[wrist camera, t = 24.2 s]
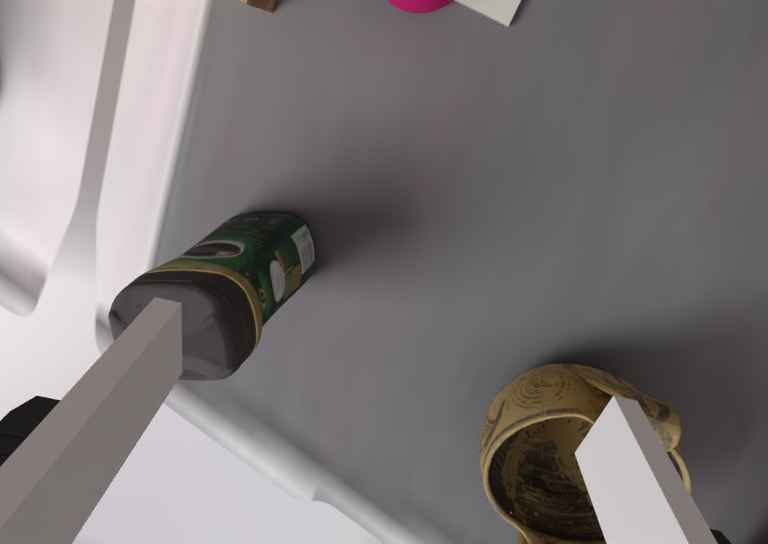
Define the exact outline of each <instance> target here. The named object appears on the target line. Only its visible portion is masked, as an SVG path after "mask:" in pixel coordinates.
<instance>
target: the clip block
mask: <svg viewBox="0 0 768 544" xmlns="http://www.w3.org/2000/svg"><path fill="white" fill-rule="evenodd" d="M239 1H241V2H243V3H245V4H248V5H251V6H254V7H257V8H260V9H263V10H266V11H269V12H272V13H273V10H274V6H275V3H276V0H239Z"/></svg>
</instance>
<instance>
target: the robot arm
mask: <svg viewBox="0 0 768 544" xmlns="http://www.w3.org/2000/svg"><path fill="white" fill-rule="evenodd" d="M181 374H182V303H180V302H175V301H171V300H166V299H161V298H157V297H155V298H154V299H153V300H152V301H151V302H150V303H149V304H148V305H147V306H146V307H145V309H144V310H143V311H142V312H141V313H140V314H139V315H138V316H137V317H136V318H135V320H134V321H133V322H132V323H131V324H130V325H129V326H128V327H127V328H126V329H125V330H124V332H123V333H122V334H121V335H120V336H119V337H118V338H117V339H116V340H115V341H114V343H113V344H112V345H111V346H110V347H109V348H108V349H107V350H106V351H105V352H104V354H103V355H102V356H101V357H100V358H99V359H98V360H97V361H96V362H95V363H94V365H93V366H92V367H91V368H90V369H89V370H88V371H87V372H86V373H85V375H83V377H82V378H81V379H80V380H79V381H78V382H77V383H76V384H75V386H74V387H73V388H72V389H71V390H70V391H69V392H68V393H67V394H66V395H65V396H64V397H63V399H62V400H55V399H51V398H46V397H40V396H36V397H34V398H32V399H30V400H29V401H27V402H25V403H24V404H22V405H20V406H19V407H17V408H15V409H13V410H11V411H10V412H9V413H8V414H7V415H6V416H5V417H4V418H3V419H2V420H1V421H0V544H72V542H73V541H74V539H75V538H76V536H77V535H78V533H79V532H80V530H81V528H82V527H83V525H84V524H85V522H86V521H87V519H88V517H89V516H90V515H91V513H92V511H93V510H94V508H95V507H96V505H97V503H98V502H99V501H100V499H101V498H102V496H103V494H104V493H105V491H106V490H107V488H108V487H109V485H110V484H111V482H112V481H113V479H114V477H115V476H116V474H117V473H118V471H119V470H120V468H121V467H122V465H123V464H124V462H125V460H126V459H127V457H128V456H129V454H130V453H131V451H132V450H133V448H134V447H135V445H136V443H137V442H138V440H139V439H140V437H141V436H142V434H143V432H144V431H145V429H146V428H147V426H148V425H149V423H150V422H151V420H152V419H153V417H154V415H155V414H156V412H157V411H158V409H159V408H160V406H161V404H162V403H163V402H164V400H165V399H166V397H167V395H168V394H169V392H170V391H171V389H172V388H173V386H174V385H175V383H176V382H177V380H178V378H179V377H180V375H181ZM575 456H576V459H577V461H578V464H579V467H580V470H581V473H582V476H583V478H584V481H585V484H586V487H587V490H588V492H589V495H590V498H591V501H592V504H593V507H594V509H595V512H596V515H597V518H598V521H599V524H600V526H601V529H602V532H603V535H604V538H605V540H606V543H607V544H731V543H730V542H729V540H728V539H727V538H726V537H725V536H724V535H723V534H722V533H721V531H717V530H712V529H709V527H708V526H707V524H706V522H705V520H704V518H703V517H702V515H701V513H700V511H699V510H698V508H697V506H696V504H695V502H694V501H693V499H692V497H691V495H690V494H689V492H688V490H687V488H686V486H685V485H684V483H683V481H682V479H681V478H680V476H679V474H678V472H677V470H676V469H675V467H674V465H673V463H672V462H671V460H670V458H669V456H668V454H667V453H666V451H665V449H664V447H663V446H662V444H661V442H660V440H659V438H658V437H657V435H656V433H655V431H654V430H653V428H652V426H651V424H650V422H649V421H648V419H647V417H646V415H645V414H644V412H643V410H642V408H641V406H640V405H639V403H638V401H636V400H632V399H627V398H622V397H618V396H613V397H612V399H611V400H610V402H609V403H608V404H607V406H606V407H605V409H604V410H603V412H602V413H601V415H600V416H599V418H598V419H597V421H596V422H595V424H594V425H593V427H592V428H591V430H590V431H589V433H588V434H587V436H586V437H585V438H584V440H583V441H582V443H581V444H580V446H579V447H578V449H577V450H576V452H575Z"/></svg>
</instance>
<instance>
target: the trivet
mask: <svg viewBox="0 0 768 544" xmlns="http://www.w3.org/2000/svg"><path fill="white" fill-rule="evenodd" d="M453 1H455V2H457V3H459V4H461V5H463V6H465V7H468V8H470V9H472V10H474V11H476V12H478V13H480V14H482V15H484V16H486V17H488V18H490V19H492V20H494V21H496V22H498V23H500V24H502V25H504V26H506V27H508V26H509V24H510V22H511V20H512V18H513V16H514V14H515V12H516V10H517V8H518V6H519V4H520V2H521V0H453Z"/></svg>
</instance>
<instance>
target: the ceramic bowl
mask: <svg viewBox="0 0 768 544" xmlns="http://www.w3.org/2000/svg"><path fill="white" fill-rule="evenodd" d="M613 396H618V397H622V398H627V399H632V400H636V401H638V403H639V405H640V406H641V408H642V410H643V412H644V414H645V415H646V417H647V419H648V421H649V422H650V424H651V426H652V428H653V430H654V431H655V433H656V435H657V437H658V438H659V440H660V442H661V444H662V446H663V447H664V449H665V451H666V453H667V454H668V456H669V458H670V460H671V462H672V463H673V465H674V467H675V469H676V470H677V472H678V474H679V476H680V478H681V479H682V481H683V483H684V485H685V486H686V488H687V490H688V492H689V494H691V483H690V476H689V472H688V469H687V467H686V465H685V463H684V459H683V456H682V452H681V449H680V447H679V444H678V443H679V441H680V437H681V424H680V419H679V417H678V415H677V413H676V411H675V410H674V409H673V408H672V407H671V406H670V405H668V404H667V403H665V402H663V401H660V400H658V399H656V398H654V397H652V396H649V395H647V394H645V393H643V392H641V391H640V390H639V389H637V388H636V387H635V386H633V385H631V384H630V383H628V382H627V381H625V380H623V379H621V378H619V377H617V376H614V375H612V374H610V373H608V372H605V371H602V370H599V369H596V368H592V367H588V366H583V365H577V364H571V363H559V364H548V365H544V366H540V367H536V368H532V369H530V370H528V371H526V372H524V373H522V374H520V375H519V376H517V377H515V378H514V379H513V380H512V381H510V382H509V383H508V384H507V385H505V386H504V387H503V389H502V390H501V391H500V392H499V393H498V395H497V396H496V397H495V398H494V400H493V402H492V403H491V405H490V407H489V409H488V411H487V414H486V416H485V419H484V423H483V427H482V431H481V439H480V451H479V454H480V464H481V473H482V477H483V482H484V488H485V491H486V494H487V497H488V499H489V501H490V502H491V504H492V506H493V507H494V509H495V510H496V511H497V512H498V513H499V515H500V516H501V517H502V518H503V519H504V520H505V521H507V522H508V523H510V524H511V525H513V526H514V527H516V528H517V529H518V544H607V543H606V540H605V538H604V535H603V532H602V529H601V526H600V524H599V521H598V518H597V515H596V512H595V509H594V507H593V504H592V501H591V498H590V495H589V492H588V490H587V487H586V484H585V481H584V478H583V476H582V473H581V470H580V467H579V464H578V461H577V459H576V456H575V452H576V450H577V449H578V447H579V446H580V444H581V443H582V441H583V440H584V438H585V437H586V436H587V434H588V433H589V431H590V430H591V428H592V427H593V425H594V424H595V422H596V421H597V419H598V418H599V416H600V415H601V413H602V412H603V410H604V409H605V407H606V406H607V404H608V403H609V402H610V400H611V399H612V397H613ZM568 420H570V421H568ZM510 446H511V447H510Z"/></svg>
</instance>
